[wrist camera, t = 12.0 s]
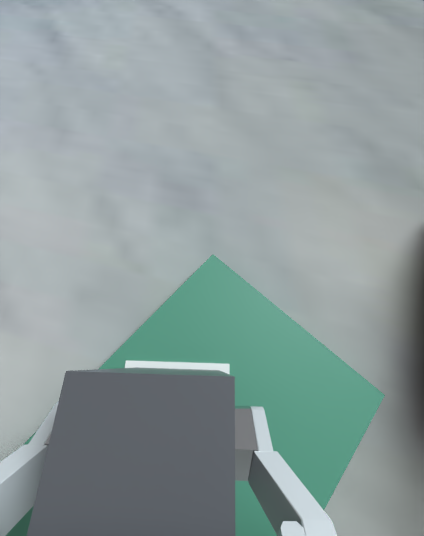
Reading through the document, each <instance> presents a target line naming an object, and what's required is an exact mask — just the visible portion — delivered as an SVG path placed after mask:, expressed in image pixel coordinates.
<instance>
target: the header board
mask: <svg viewBox="0 0 424 536" xmlns="http://www.w3.org/2000/svg"><path fill="white" fill-rule="evenodd" d="M135 367H139V368H169V369H200V370H220V371H222V372H225V373H227V374H230V375H232V376H235V406H258V407H263V408H264V411H265V415H266V420H267V424H268V429H269V433H270V438H271V442H272V447H273V451H277V452H278V453H279V454H280V455H281V457H282V458H283V459H284V461H285V462H286V463H287V464H288V466H289V467H290V468H291V469H292V471H293V472H294V473H295V475H296V476H297V477H298V478H299V480H300V481H301V482H302V483H303V485H304V486H305V487H306V488H307V490H308V491H309V492H310V494H311V495H312V496H313V497H314V499H315V500H316V501H317V502H318V504H319V505H320V506H321V508H322V509H323V510H324V509H325V507H326V505H327V503H328V501H329V500H330V498H331V496H332V494H333V492H334V490H335V488H336V486H337V484H338V483H339V481H340V479H341V477H342V475H343V473H344V471H345V469H346V467H347V466H348V464H349V462H350V460H351V458H352V456H353V454H354V452H355V450H356V449H357V447H358V445H359V443H360V441H361V439H362V437H363V435H364V434H365V432H366V430H367V428H368V426H369V424H370V422H371V420H372V418H373V417H374V415H375V413H376V411H377V409H378V407H379V405H380V403H381V401H382V400H383V398H384V396H385V395H384V394H383V393H381V392H380V391H379V390H378V389H377V388H375V387H374V386H373V385H372V384H371V383H369V382H368V381H367V380H366V379H364V378H363V377H362V376H361V375H360V374H358V373H357V372H356V371H355V370H353V369H352V368H351V367H350V366H349V365H347V364H346V363H345V362H344V361H342V360H341V359H340V358H339V357H338V356H336V355H335V354H334V353H333V352H332V351H330V350H329V349H328V348H327V347H325V346H324V345H323V344H322V343H321V342H319V341H318V340H317V339H316V338H314V337H313V336H312V335H311V334H310V333H308V332H307V331H306V330H305V329H303V328H302V327H301V326H300V325H299V324H297V323H296V322H295V321H294V320H292V319H291V318H290V317H289V316H288V315H286V314H285V313H284V312H283V311H282V310H280V309H279V308H278V307H277V306H275V305H274V304H273V303H272V302H271V301H269V300H268V299H267V298H266V297H264V296H263V295H262V294H261V293H260V292H258V291H257V290H256V289H255V288H253V287H252V286H251V285H250V284H249V283H247V282H246V281H245V280H244V279H242V278H241V277H240V276H239V275H238V274H236V273H235V272H234V271H233V270H232V269H230V268H229V267H228V266H227V265H225V264H224V263H223V262H222V261H221V260H219V259H218V258H217V257H216V256H214V255H212V256H211V257H210V258H209V259H208V260H207V261H206V262H205V263H204V264H203V265H202V266H201V267H200V268H199V269H198V270H197V271H196V272H195V273H194V274H193V275H192V276H191V277H190V278H189V279H188V280H187V281H186V282H185V283H184V284H183V285H182V286H181V287H180V288H179V289H178V290H177V291H176V292H175V293H174V294H173V295H172V296H171V297H170V298H169V299H168V300H167V301H166V302H165V303H164V304H163V305H162V306H161V307H160V308H159V309H158V310H157V311H156V312H155V313H154V314H153V315H152V316H151V317H150V318H149V319H148V320H147V321H146V322H145V323H144V324H143V325H142V326H141V327H140V328H139V329H138V330H137V331H136V332H135V333H134V334H133V335H132V336H131V337H130V338H129V339H128V340H127V341H126V342H125V343H124V344H123V345H122V346H121V347H120V348H119V349H118V350H117V351H116V352H115V353H114V354H113V355H112V356H111V357H110V358H109V359H108V360H107V361H106V362H105V363H104V364H103V365H102V366H101V367H100V368H99V369H116V368H135ZM36 432H37V431H36ZM36 432H35V433H36ZM35 433H34V434H33V435H32V436H31V437H30V438H29V439H28V440H27V441H26V443H25V444H24V445H26V444H29V442H30V441H31V439H32V438H33V436H34V435H35ZM248 482H249V481H235V536H277V534H276V532H275V531H274V529H273V527H272V525H271V523H270V521H269V520H268V518H267V516H266V514H265V512H264V510H263V509H262V507H261V505H260V503H259V501H258V499H257V498H256V496H255V494H254V492H253V490H252V488H251V487H250V485H249V483H248ZM33 507H34V506H33ZM33 507H32V508H31V509H30V510H29V511H28V512H27V513H26V514H25V515H24V516H23V517H22V518H21V520H20V521H19V522H18V523H17V524H16V525H15V526H14V527H13V528H12V529H11V530H10V531H9V532H8V533H7V535H6V536H27V532H28V528H29V524H30V520H31V515H32V511H33Z"/></svg>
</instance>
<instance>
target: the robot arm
mask: <svg viewBox="0 0 424 536" xmlns="http://www.w3.org/2000/svg"><path fill="white" fill-rule="evenodd" d="M58 403H59V401H58V402H57V403H56V404H55V405H54V406H53V408H52V409H51V411H50V412H49V414H48V415H47V417H46V418H45V420H44V421H43V423H42V424H41V426H40V427H39V429H38V430H37V432H36V433H35V435H34V436H33V438H32V439H31V441H30V442H29V444H26V445H23V446H21V447H20V448H19V449H17V450H16V451H15V452H13V453H12V454H11V455H9V456H8V457H7V458H5V459H4V460H3V461H1V462H0V536H6V535H7V533H8V532H9V531H10V530H11V529H12V528H13V527H14V526H15V525H16V524H17V523H18V522H19V521H20V520H21V518H22V517H23V516H24V515H25V514H26V513H27V512H28V511H29V510H30V509H31V508H32V507H33V506H34V503H35V499H36V494H37V490H38V486H39V482H40V478H41V474H42V469H43V465H44V461H45V457H46V453H47V449H48V444H49V440H50V436H51V432H52V428H53V423H54V419H55V415H56V411H57V407H58ZM235 481H249V482H248V483H249V485H250V487H251V488H252V490H253V492H254V494H255V496H256V498H257V499H258V501H259V503H260V505H261V507H262V509H263V510H264V512H265V514H266V516H267V518H268V520H269V521H270V523H271V525H272V527H273V529H274V531H275V532H276V534H277V536H337V534H336V531H335V528H334V525H333V522H332V520H331V519H330V518H329V516H328V515H327V514H326V513H325V511H324V510H323V509H322V508H321V506H320V505H319V504H318V502H317V501H316V500H315V499H314V497H313V496H312V495H311V494H310V492H309V491H308V490H307V488H306V487H305V486H304V485H303V483H302V482H301V481H300V480H299V478H298V477H297V476H296V475H295V473H294V472H293V471H292V469H291V468H290V467H289V466H288V464H287V463H286V462H285V461H284V459H283V458H282V457H281V455H280V454H279V453H278V452H277V451H273V447H272V442H271V438H270V433H269V429H268V424H267V420H266V415H265V411H264V408H263V407H258V406H235Z"/></svg>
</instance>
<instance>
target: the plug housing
mask: <svg viewBox="0 0 424 536" xmlns="http://www.w3.org/2000/svg"><path fill="white" fill-rule="evenodd" d="M27 536H235V376H232V375H230V374H227V373H225V372H222V371H220V370H200V369H169V368H139V367H135V368H116V369H97V370H78V371H66V373H65V378H64V382H63V386H62V390H61V394H60V398H59V403H58V407H57V411H56V415H55V419H54V423H53V428H52V432H51V436H50V440H49V444H48V449H47V453H46V457H45V461H44V465H43V469H42V474H41V478H40V482H39V486H38V490H37V494H36V499H35V503H34V507H33V511H32V515H31V520H30V524H29V528H28V532H27Z"/></svg>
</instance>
